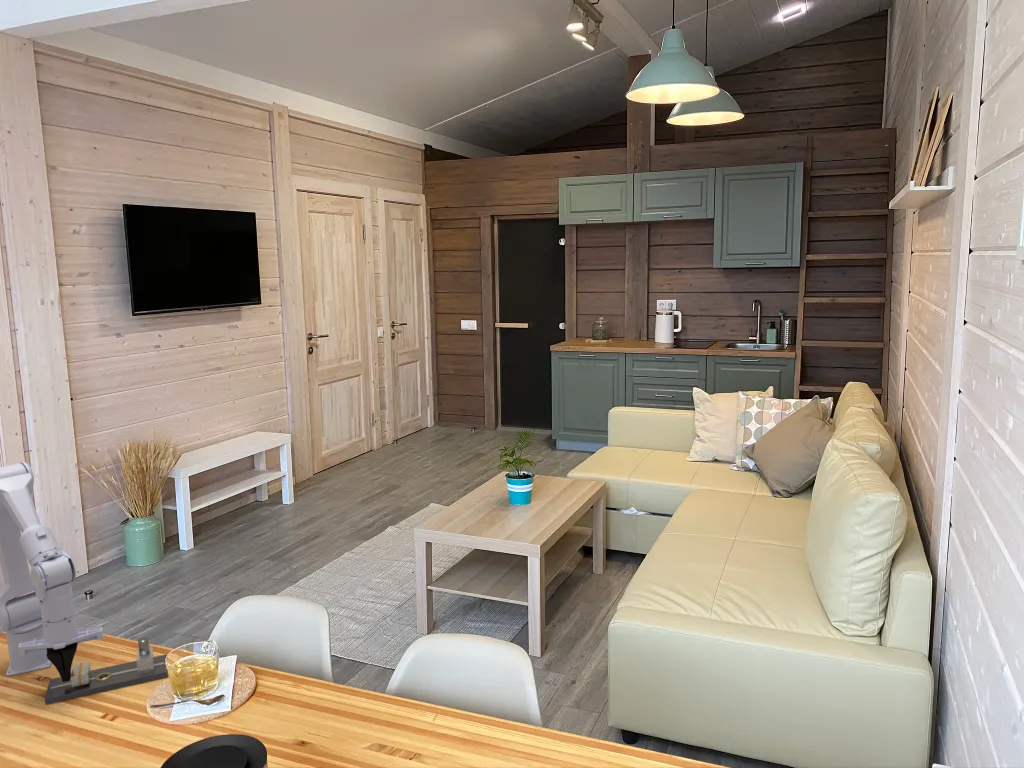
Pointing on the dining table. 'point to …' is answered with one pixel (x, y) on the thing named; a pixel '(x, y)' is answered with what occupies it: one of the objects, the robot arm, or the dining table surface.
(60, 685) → the plate
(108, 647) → the dining table surface
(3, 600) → the robot arm
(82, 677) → the block
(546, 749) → the dining table surface
